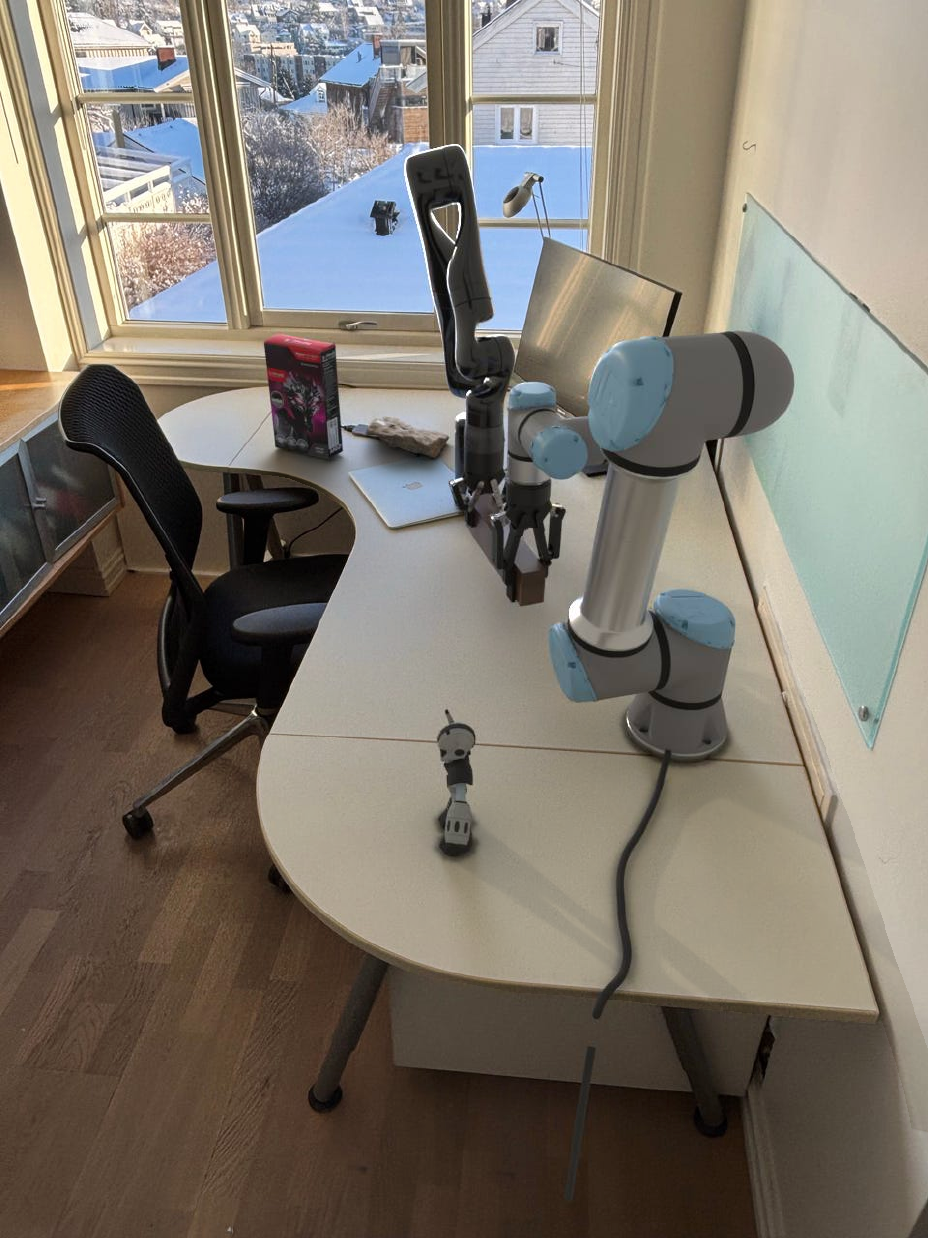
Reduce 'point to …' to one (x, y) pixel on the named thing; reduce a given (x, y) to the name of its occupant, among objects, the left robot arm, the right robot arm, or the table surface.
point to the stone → (407, 436)
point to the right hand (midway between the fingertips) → (524, 595)
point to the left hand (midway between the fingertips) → (482, 523)
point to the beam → (526, 562)
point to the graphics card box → (304, 395)
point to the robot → (456, 785)
